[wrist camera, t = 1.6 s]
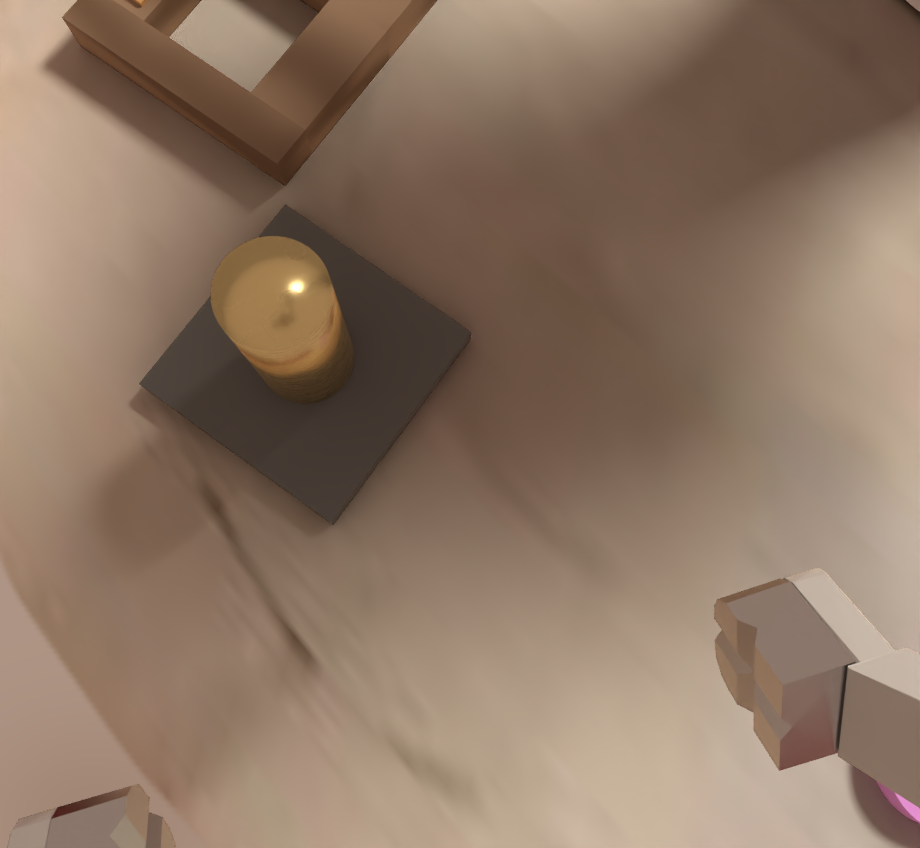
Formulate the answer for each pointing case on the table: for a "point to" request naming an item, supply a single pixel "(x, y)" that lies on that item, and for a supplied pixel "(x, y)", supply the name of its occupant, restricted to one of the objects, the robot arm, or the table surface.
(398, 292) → the pad
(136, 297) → the table surface
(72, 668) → the table surface
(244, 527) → the table surface
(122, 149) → the table surface
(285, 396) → the brass peg
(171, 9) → the socket block
